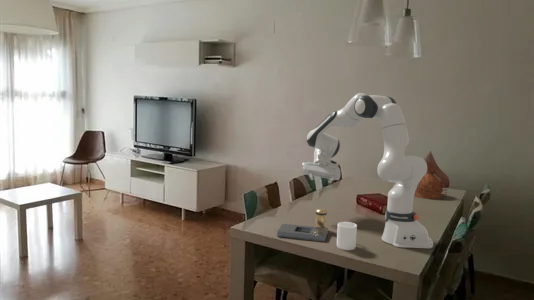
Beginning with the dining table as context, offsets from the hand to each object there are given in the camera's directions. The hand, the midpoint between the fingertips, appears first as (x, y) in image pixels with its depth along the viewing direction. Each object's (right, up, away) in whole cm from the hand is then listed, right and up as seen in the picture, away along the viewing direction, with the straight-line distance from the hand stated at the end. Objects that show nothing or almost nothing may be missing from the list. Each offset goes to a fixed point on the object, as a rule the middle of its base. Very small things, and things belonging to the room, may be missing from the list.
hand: (321, 180), depth 226 cm
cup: (+7, -27, -33) cm, 43 cm away
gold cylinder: (-2, -23, -13) cm, 26 cm away
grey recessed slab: (-11, -24, -21) cm, 34 cm away
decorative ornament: (+78, -15, +63) cm, 101 cm away
